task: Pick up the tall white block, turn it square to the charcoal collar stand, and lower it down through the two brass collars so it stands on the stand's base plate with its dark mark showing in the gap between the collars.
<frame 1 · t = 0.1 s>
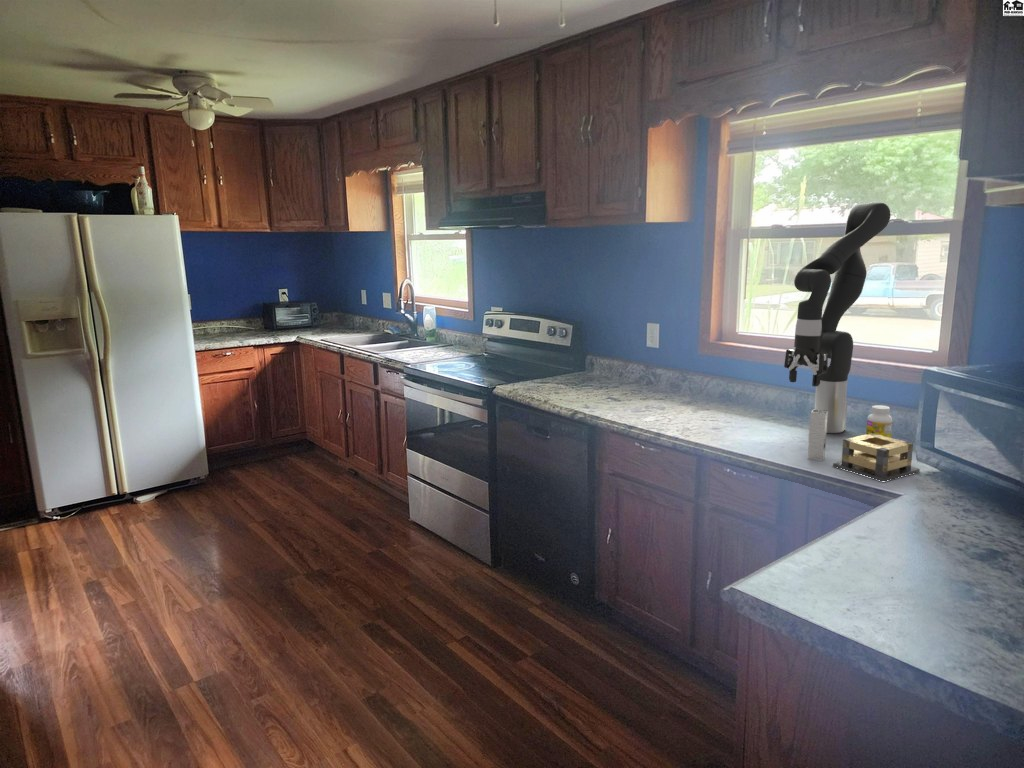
hand: (803, 384, 211), 17 cm above the worktop, tool pointing down, fingers open, 8 cm apart
tall white block: (816, 458, 192), on the worktop
supplement bottle: (877, 448, 200), on the worktop
collar stand: (875, 469, 181), on the worktop
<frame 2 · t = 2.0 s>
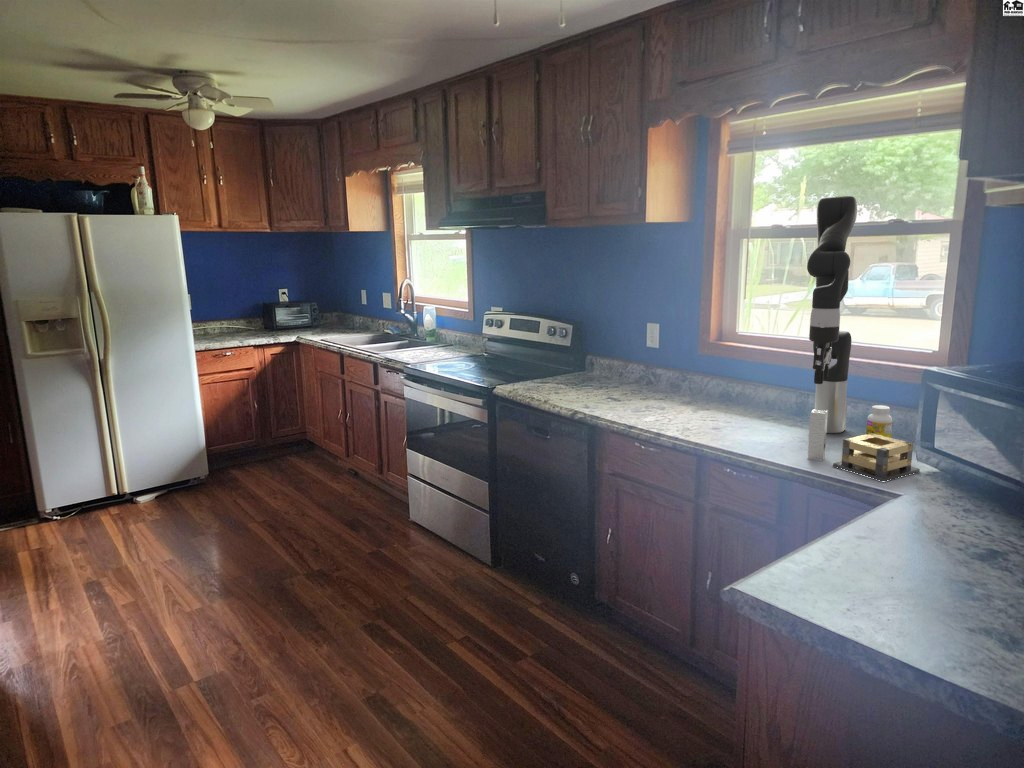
hand: (821, 381, 188), 23 cm above the worktop, tool pointing down, fingers open, 8 cm apart
nothing on the worktop moved.
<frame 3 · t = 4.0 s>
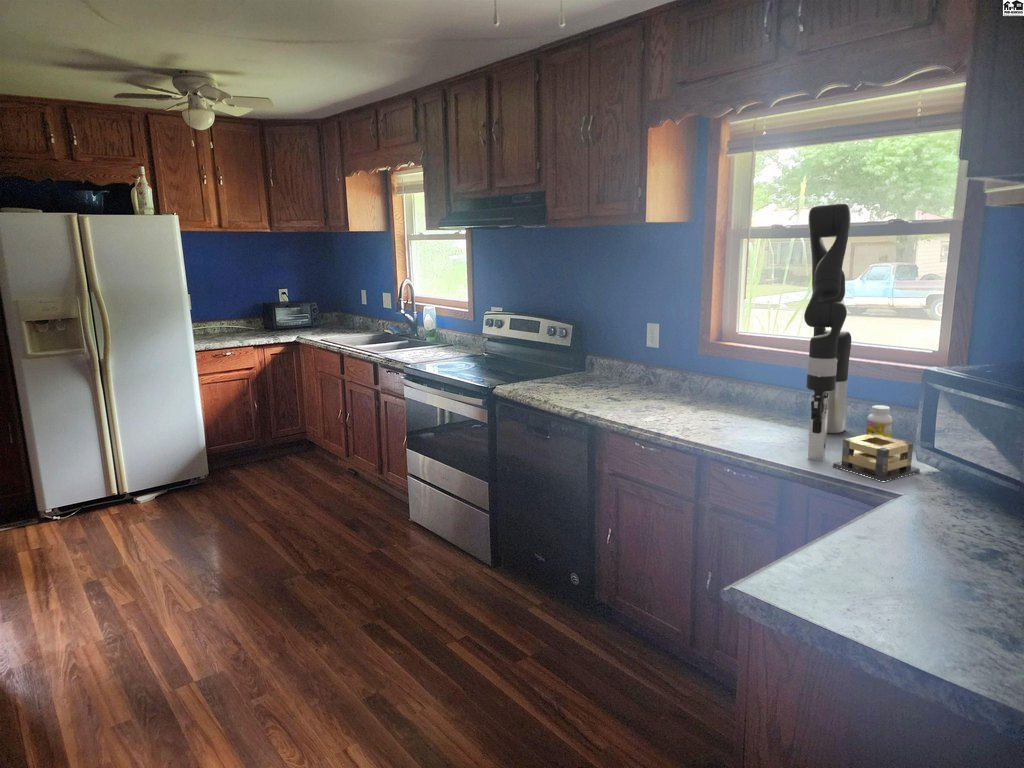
hand: (817, 430, 190), 8 cm above the worktop, tool pointing down, fingers closed on tall white block, 4 cm apart
tall white block: (816, 458, 192), on the worktop, touching gripper
everything else where it was.
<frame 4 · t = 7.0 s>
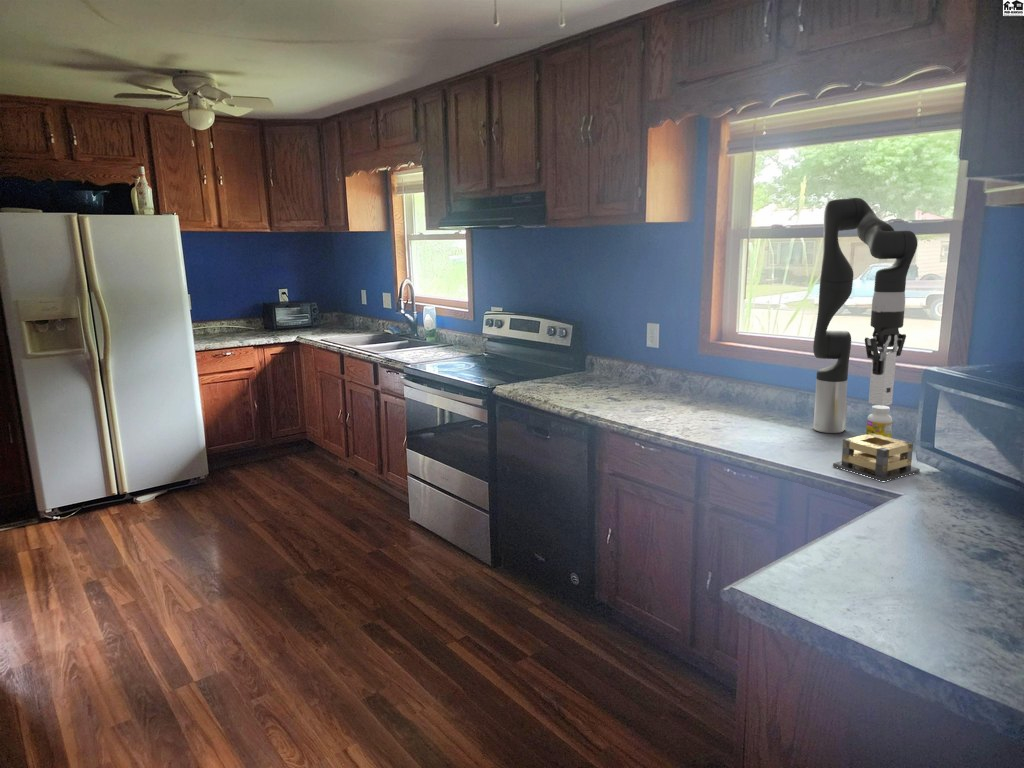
hand: (882, 373, 176), 27 cm above the worktop, tool pointing down, fingers closed on tall white block, 4 cm apart
tall white block: (880, 403, 177), point 19 cm above the worktop, touching gripper
everything else where it was.
when the fingers open (11 cm above the worktop, at t = 10.1 s): tall white block drops 1 cm, resting on collar stand.
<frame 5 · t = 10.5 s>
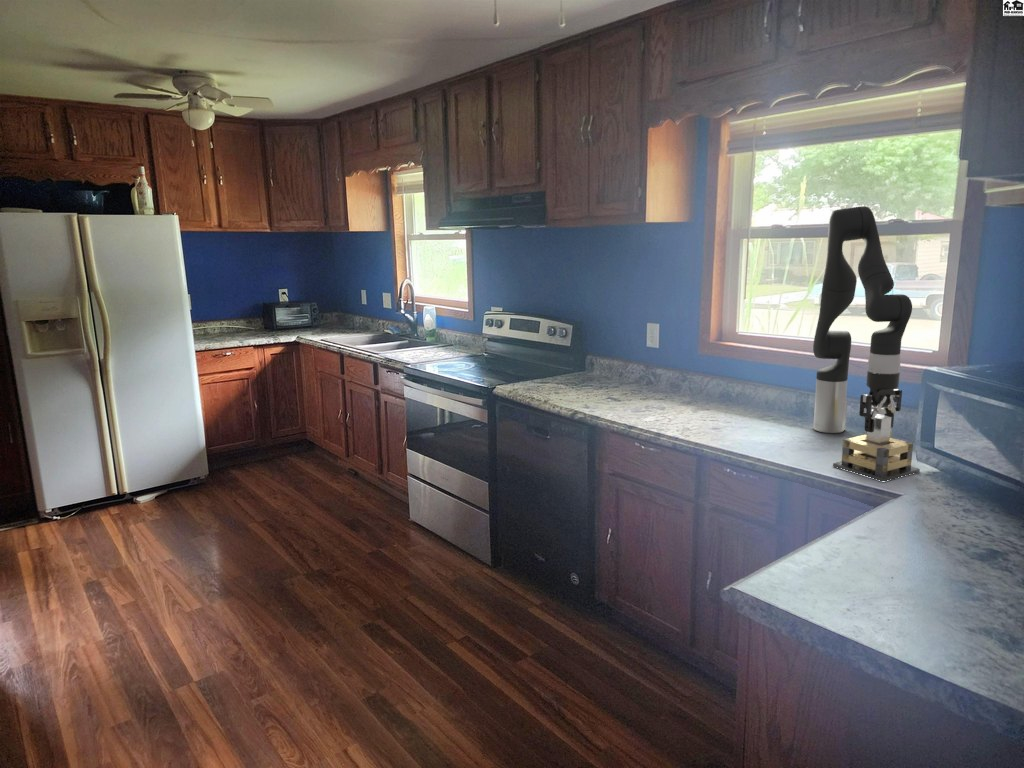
hand: (878, 429, 179), 11 cm above the worktop, tool pointing down, fingers open, 7 cm apart
tall white block: (875, 465, 181), point 1 cm above the worktop, touching collar stand
everything else where it was.
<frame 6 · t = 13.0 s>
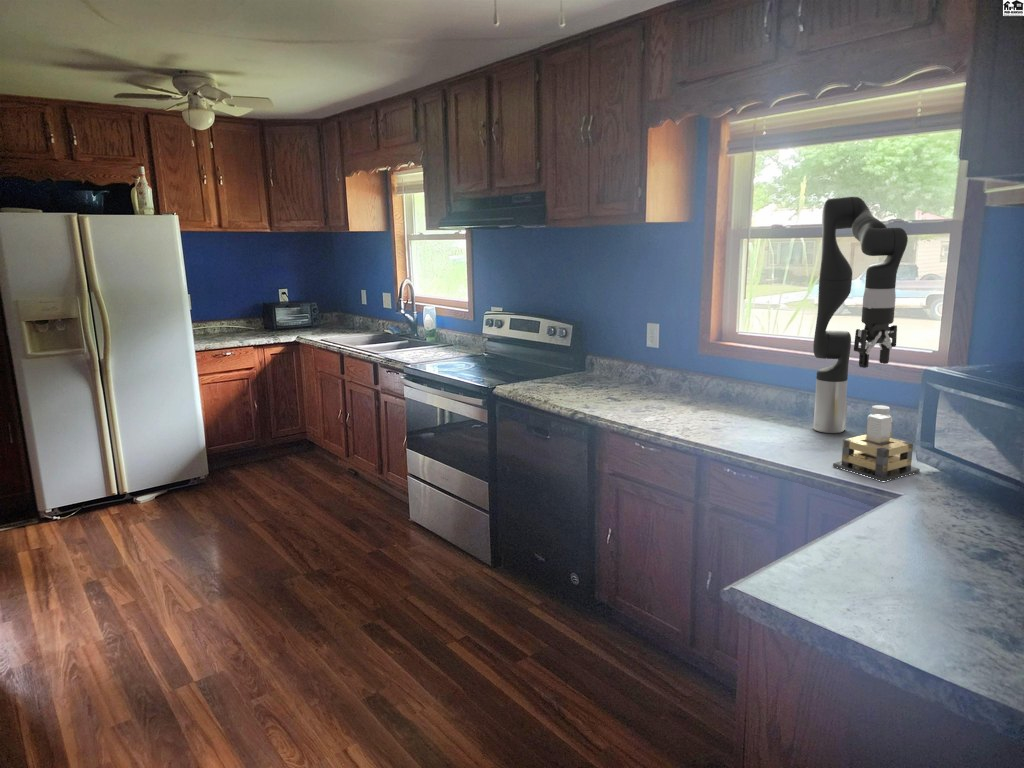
hand: (873, 365, 178), 29 cm above the worktop, tool pointing down, fingers open, 8 cm apart
nothing on the worktop moved.
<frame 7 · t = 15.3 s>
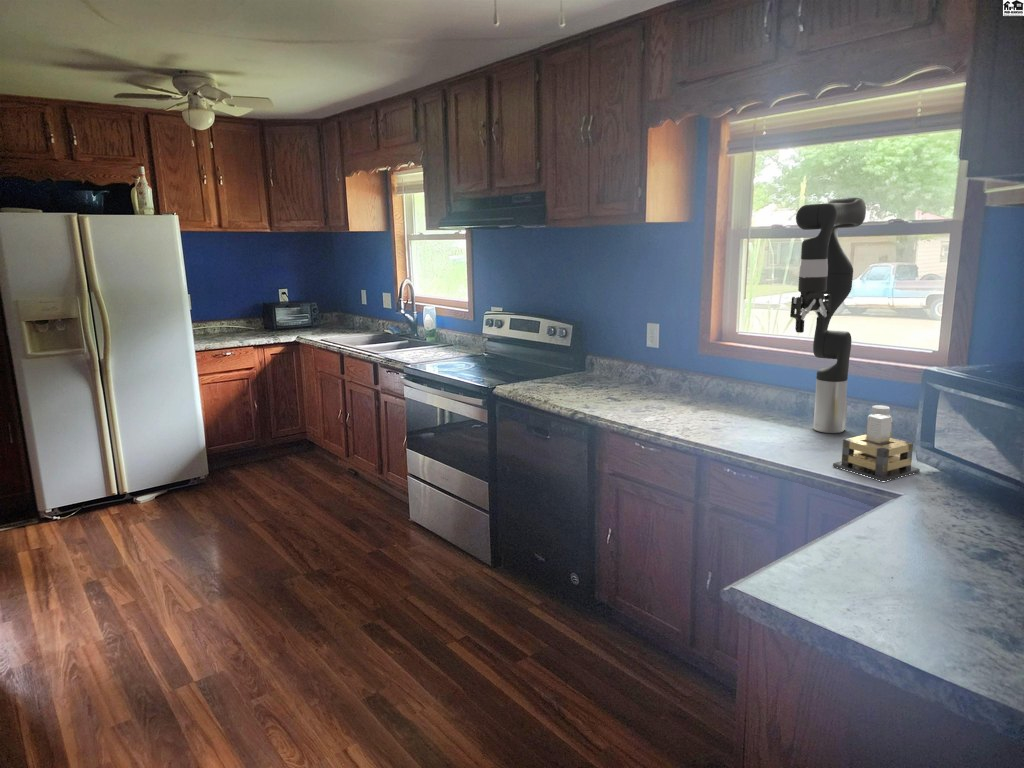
hand: (809, 331, 194), 36 cm above the worktop, tool pointing down, fingers open, 8 cm apart
nothing on the worktop moved.
at the end: tall white block 0.1 cm off-centre on the collar stand, point 1.0 cm above the collar stand's base; tall white block tilted 0°; the gripper is holding nothing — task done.
